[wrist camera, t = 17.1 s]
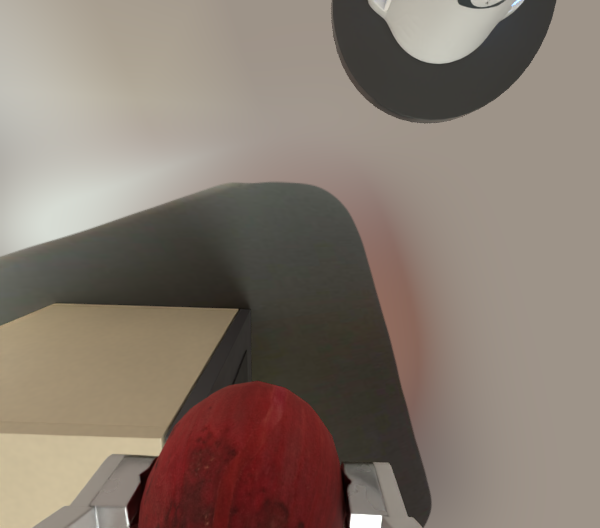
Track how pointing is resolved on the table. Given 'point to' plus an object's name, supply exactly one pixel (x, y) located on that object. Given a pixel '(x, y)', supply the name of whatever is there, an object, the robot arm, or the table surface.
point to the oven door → (224, 364)
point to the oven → (92, 393)
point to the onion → (246, 465)
